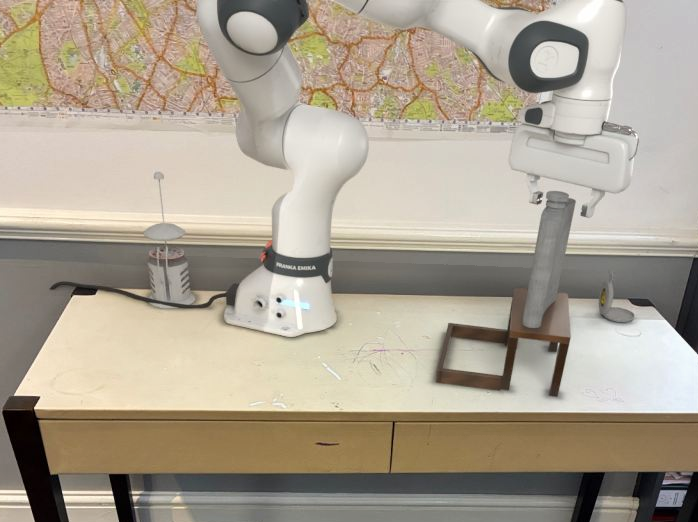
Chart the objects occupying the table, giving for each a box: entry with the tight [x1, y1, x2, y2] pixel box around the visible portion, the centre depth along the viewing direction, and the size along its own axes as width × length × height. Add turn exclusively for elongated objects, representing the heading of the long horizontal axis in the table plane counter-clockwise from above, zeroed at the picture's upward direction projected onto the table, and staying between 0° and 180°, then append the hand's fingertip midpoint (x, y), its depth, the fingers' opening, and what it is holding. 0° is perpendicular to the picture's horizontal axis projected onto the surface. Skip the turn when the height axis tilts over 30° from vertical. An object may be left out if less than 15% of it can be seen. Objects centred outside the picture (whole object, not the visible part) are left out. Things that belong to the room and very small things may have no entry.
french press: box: [143, 171, 197, 309], centre depth 154 cm, size 10×12×25 cm
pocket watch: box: [598, 269, 636, 323], centre depth 164 cm, size 8×8×10 cm
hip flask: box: [522, 190, 577, 328], centre depth 132 cm, size 16×4×20 cm, turn 158°
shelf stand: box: [435, 287, 572, 398], centre depth 142 cm, size 22×21×11 cm
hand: (560, 209), depth 128 cm, fingers open, 8 cm apart
